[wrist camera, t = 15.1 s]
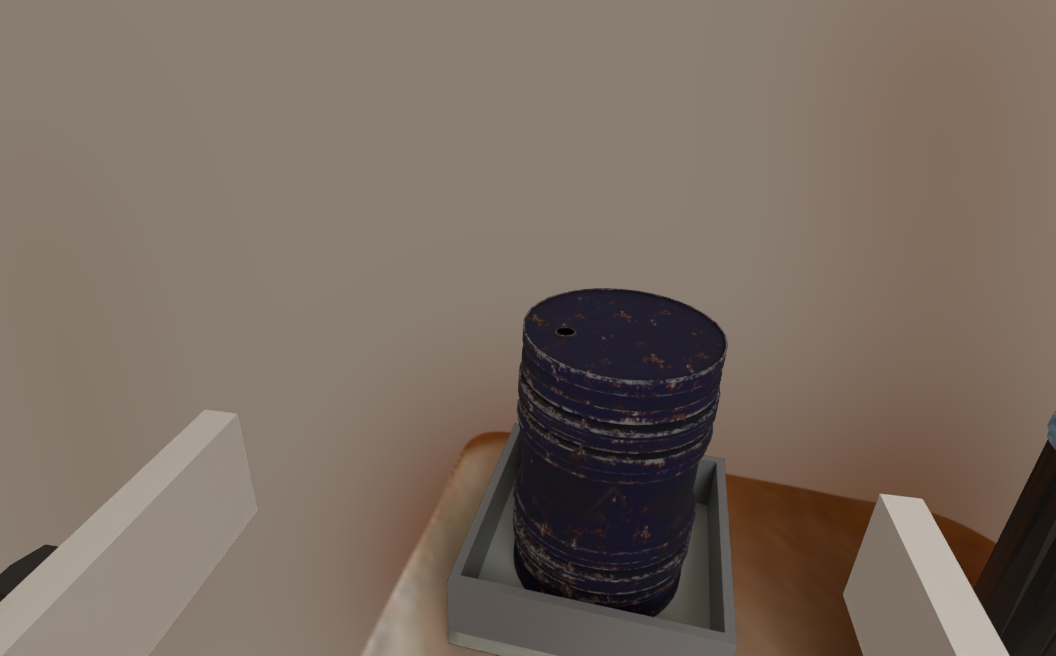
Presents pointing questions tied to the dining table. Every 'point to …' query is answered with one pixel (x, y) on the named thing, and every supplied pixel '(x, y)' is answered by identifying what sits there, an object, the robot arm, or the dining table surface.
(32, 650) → the robot arm
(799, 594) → the dining table surface
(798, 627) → the dining table surface
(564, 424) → the dark blue ribbed cylinder
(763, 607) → the dining table surface
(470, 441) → the dining table surface
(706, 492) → the cradle tray
